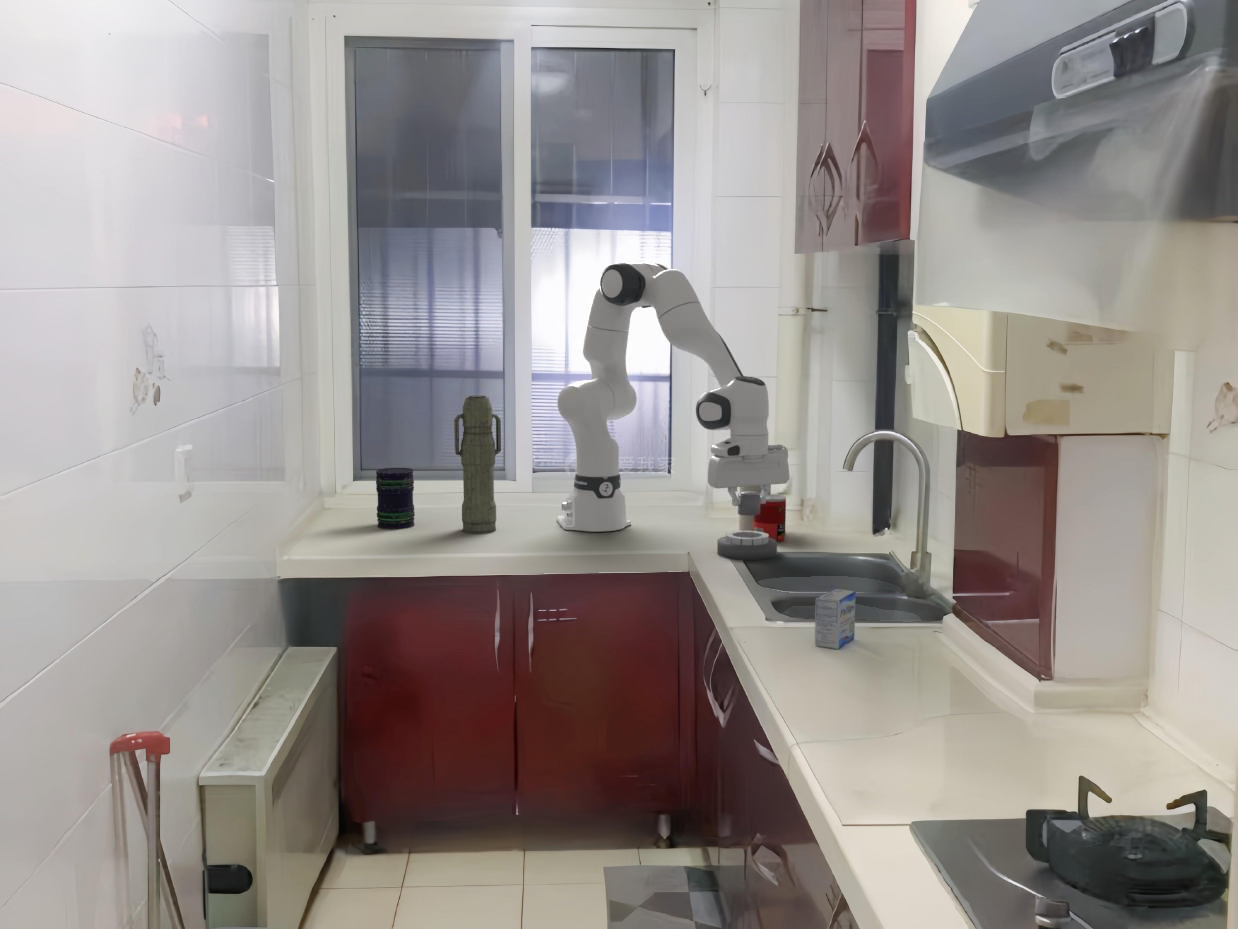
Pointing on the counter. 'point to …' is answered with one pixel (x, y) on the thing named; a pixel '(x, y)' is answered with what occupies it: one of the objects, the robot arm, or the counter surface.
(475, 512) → the thermos
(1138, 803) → the counter surface
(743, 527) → the travel mug
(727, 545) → the grey round peg base
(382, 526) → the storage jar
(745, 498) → the cap
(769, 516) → the canned food
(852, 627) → the medicine box
